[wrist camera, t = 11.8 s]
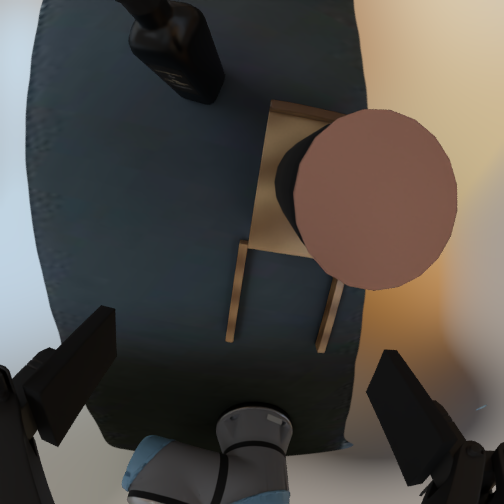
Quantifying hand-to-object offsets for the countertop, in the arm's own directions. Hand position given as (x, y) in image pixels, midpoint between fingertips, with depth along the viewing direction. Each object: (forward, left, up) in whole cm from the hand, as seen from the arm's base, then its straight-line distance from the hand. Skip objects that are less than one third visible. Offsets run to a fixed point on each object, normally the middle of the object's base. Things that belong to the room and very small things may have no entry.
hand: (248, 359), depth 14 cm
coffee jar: (+8, -7, -23) cm, 25 cm away
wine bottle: (+20, +10, -33) cm, 40 cm away
